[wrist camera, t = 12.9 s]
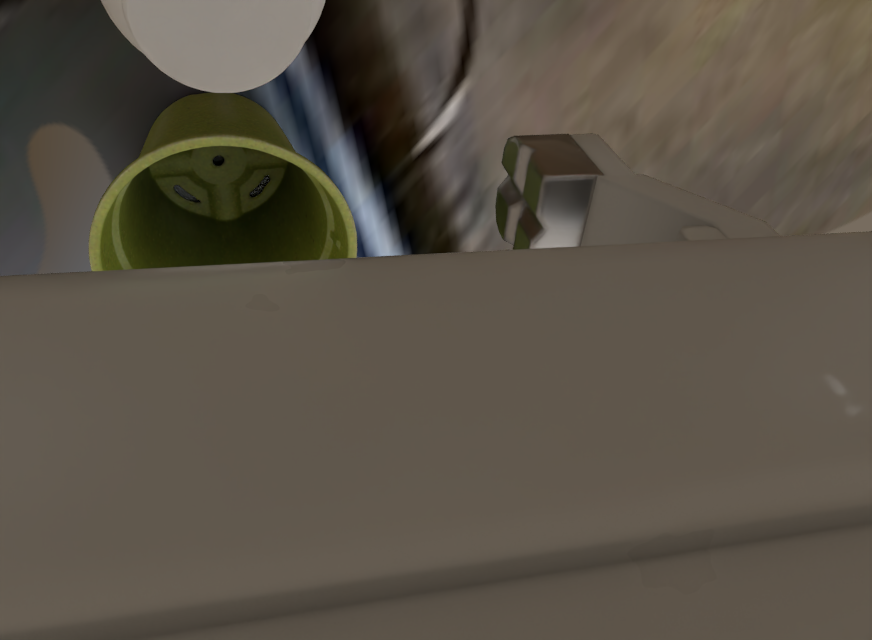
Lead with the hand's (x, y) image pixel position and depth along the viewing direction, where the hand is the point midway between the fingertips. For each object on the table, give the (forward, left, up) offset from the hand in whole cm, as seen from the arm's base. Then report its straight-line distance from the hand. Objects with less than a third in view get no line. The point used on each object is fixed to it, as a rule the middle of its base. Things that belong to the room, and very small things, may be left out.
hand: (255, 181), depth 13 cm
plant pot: (+9, +5, -23) cm, 25 cm away
